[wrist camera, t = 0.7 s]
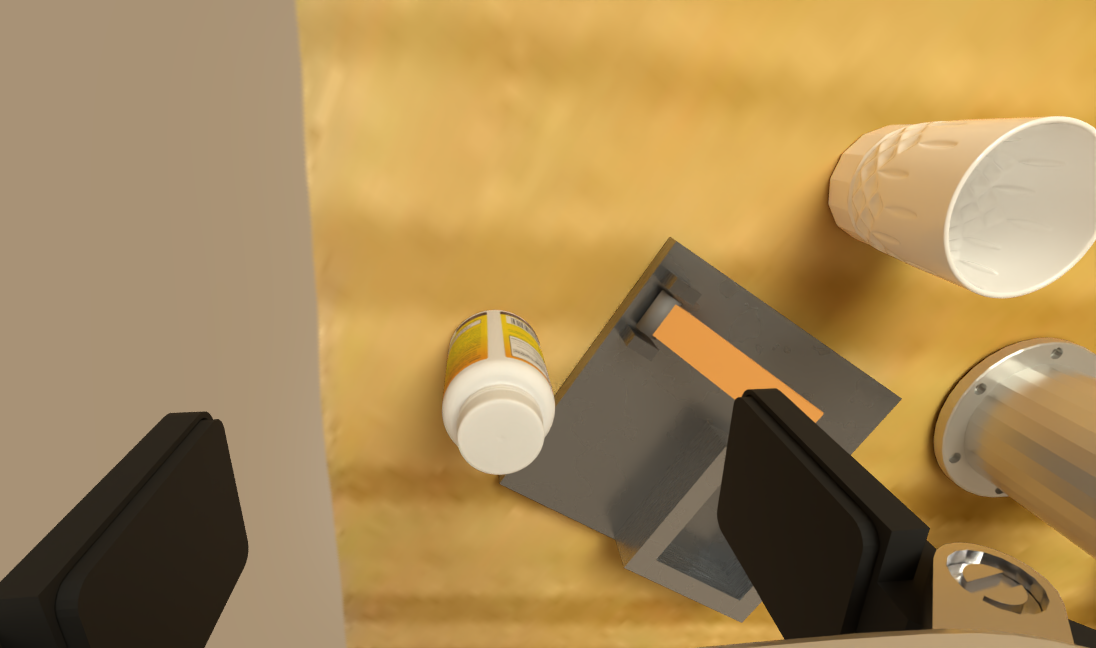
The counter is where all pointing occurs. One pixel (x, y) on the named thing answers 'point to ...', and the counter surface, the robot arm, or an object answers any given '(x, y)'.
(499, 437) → the supplement bottle
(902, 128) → the white cup
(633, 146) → the counter surface
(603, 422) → the hitch plate
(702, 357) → the keeper bar
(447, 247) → the counter surface
